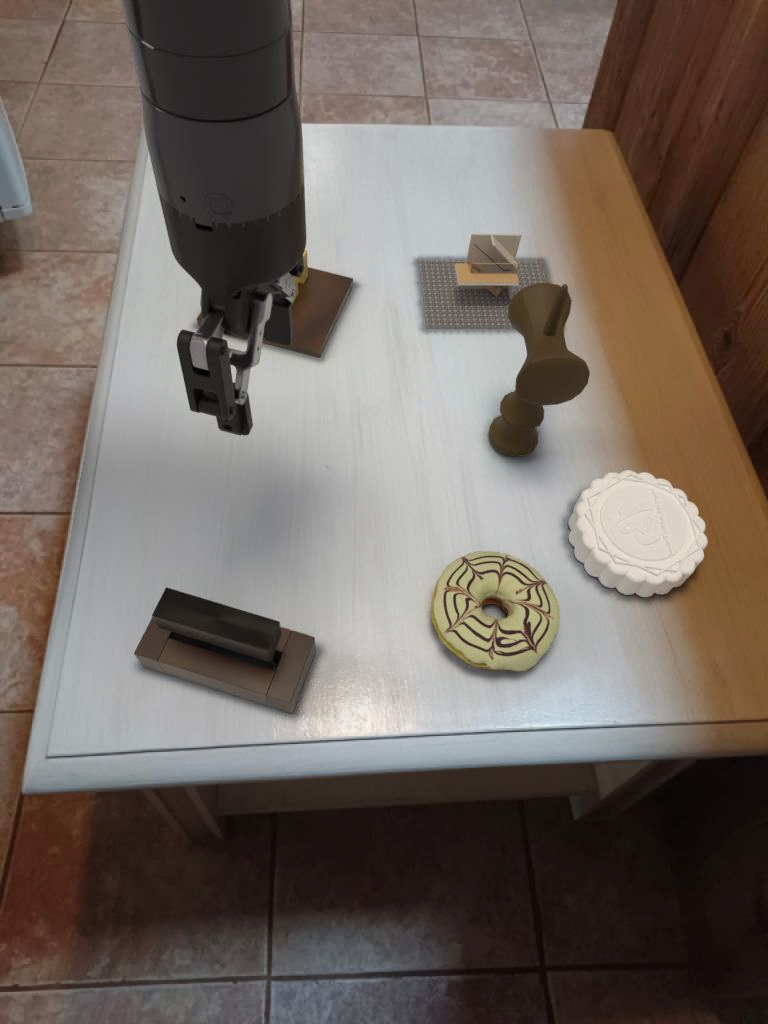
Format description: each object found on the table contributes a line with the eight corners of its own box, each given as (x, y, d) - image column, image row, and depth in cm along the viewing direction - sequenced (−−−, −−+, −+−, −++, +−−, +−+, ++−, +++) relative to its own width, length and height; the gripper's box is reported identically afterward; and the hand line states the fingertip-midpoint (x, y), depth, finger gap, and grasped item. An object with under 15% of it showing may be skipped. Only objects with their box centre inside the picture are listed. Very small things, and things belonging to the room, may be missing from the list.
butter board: (197, 325, 79) (196, 318, 78) (240, 256, 85) (239, 249, 84) (319, 357, 78) (319, 351, 77) (353, 285, 84) (353, 278, 83)
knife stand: (142, 666, 59) (133, 653, 56) (171, 606, 62) (164, 591, 59) (292, 713, 58) (290, 702, 55) (315, 650, 61) (315, 637, 58)
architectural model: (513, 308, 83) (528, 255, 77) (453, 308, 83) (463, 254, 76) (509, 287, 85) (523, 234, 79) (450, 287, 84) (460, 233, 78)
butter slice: (270, 275, 82) (268, 250, 79) (275, 267, 83) (273, 241, 80) (303, 284, 82) (302, 258, 79) (308, 275, 83) (307, 250, 80)
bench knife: (173, 655, 60) (151, 615, 52) (185, 629, 61) (165, 586, 54) (276, 687, 59) (268, 651, 52) (286, 660, 60) (280, 621, 53)
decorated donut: (543, 693, 60) (554, 678, 57) (417, 660, 61) (421, 644, 57) (558, 582, 65) (569, 564, 62) (442, 554, 66) (447, 533, 63)
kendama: (486, 478, 71) (535, 328, 54) (478, 401, 76) (520, 242, 59) (547, 479, 71) (614, 330, 54) (535, 403, 76) (593, 245, 59)
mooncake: (557, 486, 71) (567, 465, 68) (676, 486, 72) (691, 465, 68) (579, 599, 64) (591, 581, 61) (709, 597, 65) (727, 580, 62)
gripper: (213, 83, 41) (243, 303, 55) (97, 241, 34) (166, 448, 47) (340, 110, 40) (338, 325, 54) (251, 277, 33) (275, 476, 47)
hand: (258, 383), depth 51 cm, fingers open, 8 cm apart
